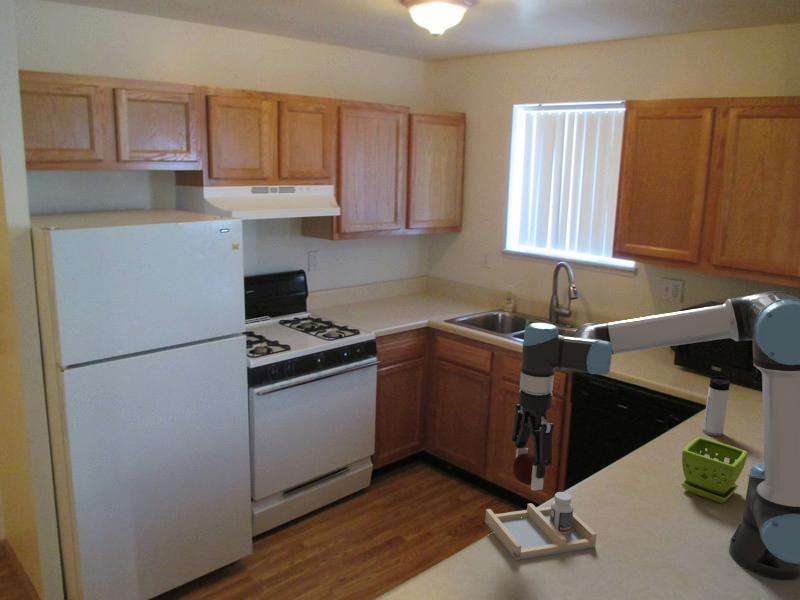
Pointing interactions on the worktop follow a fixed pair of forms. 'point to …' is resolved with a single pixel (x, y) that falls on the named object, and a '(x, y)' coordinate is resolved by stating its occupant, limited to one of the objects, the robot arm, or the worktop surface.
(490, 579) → the worktop surface
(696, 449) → the flower pot
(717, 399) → the travel mug
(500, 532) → the open tray
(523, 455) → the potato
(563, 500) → the pill bottle
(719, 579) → the worktop surface
